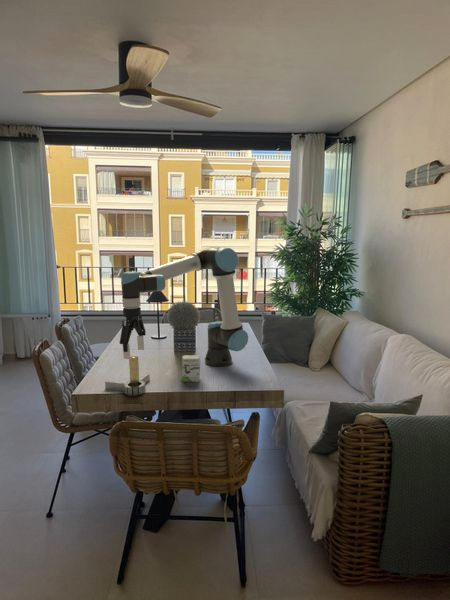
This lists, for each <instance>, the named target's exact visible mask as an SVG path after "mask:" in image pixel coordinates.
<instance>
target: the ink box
mask: <svg viewBox="0 0 450 600" xmlns="http://www.w3.org/2000/svg"><path fill="white" fill-rule="evenodd" d="M181 357H182V358H181V360H182V361H181V363H182V366H181V369H182V370H181V371H182V374H181V375H182V376H181V378H182V379H181V380H182V383H185V382H189V383H190V382H191V381H192V382H200V380H201V379H200V377H201V376H200V375H201V366H200V365H201V361H200V360H201V359H200V355H199V354H198V355H193V354H192V355H191V354H190V355H182V356H181Z"/></svg>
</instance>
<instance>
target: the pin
mask: <svg viewBox="0 0 450 600" xmlns="http://www.w3.org/2000/svg"><path fill="white" fill-rule="evenodd" d="M128 364H129V368H128V369H129V381H130V386H131V387H135V386H139V380H140V371H139V370H140V369H139V368H140V367H139V365H140V364H139V356H136V355H132V356H131V355H130V359H128Z"/></svg>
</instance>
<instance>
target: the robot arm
mask: <svg viewBox="0 0 450 600" xmlns="http://www.w3.org/2000/svg"><path fill="white" fill-rule="evenodd" d="M238 265H239V256H238V254H237V252H236V251H235V250H234V249H232V248H231V247H226V246H210V247H207V248H204V249H200V250H198V251H195V252H193V253H190V255H189V256H186V257H184V258H180V259H177V260H175V261H171V262H168V263H166V264H162V265H159V266H156V267H152V268H150V269H147V270H144V271H141V272H140V271H124V272H122V273H121V274H120V275H121V277H120V285H121V296H122V299H121V301H122V307H123V308H122V315H123V317H124V318H126V320H122V322H121V324H122V326H121V333H120V339H119V345H122V350H123V351H122V353H123V355H122V356H123V359H124V360H129V359H130V357H131V347H130V343H129V342H130V339H131V335H132V332H133V331H134V330H135V332H136V333H137V336H136V337H137V350H139V351H144V350H145V344H144V343H145V341H144V339H145V338H144V336H146V333H147V331H146V328H145V325H144V322H143V315H142V314H141V313H142V311H141V307H140V306H141V294H142V293H154V292H160V291H161V292H163V291H164V290H165V288H166V284H167V283H166V281H168V280H171V279H173V278H174V279H175V278H176V277H179V276H182V275H184V274H188V273H191V272H194V271H196V272H200V271H204V270H211V274H212V276H213V278H215V279H216V285H217V287H216V288H217V293H218V301H219V309H220V315H221V321H218V320H217V321H212V322H209V323H208V324H207V351H206V353H205V358H204V363H205V364H206V365H208V366H211V367H225V366H229V365H231V364H232V362H233V357H232V354H231V351H234V352H240V351H242V350H244V349H245V347H246V346H247V345H248V342H249V334H248V332H247V331H245V329H244V327H243V326H244V325H243V322H241V321H240V319H239V318H240V317H239V311H238V303H237V297H236V290H235V289H236V288H235V282H234V281H235V280H234V275H235V274H236V269H237V267H238Z"/></svg>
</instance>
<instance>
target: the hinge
mask: <svg viewBox="0 0 450 600" xmlns="http://www.w3.org/2000/svg"><path fill="white" fill-rule="evenodd" d="M149 381H151V380H150V373H146V374H145V375H144V376H142V377H141V378H139V386H135V387H131V386H130V380H128V381H127V382H121V381H120V382H119V381H110V380H106V381H104V387H105V390H112V391H114V390H115V391H121V392H123V393H124V395H127V396H138V395H139V396H140V395H143V394H145V393H146V390H147V389H146V384H147V383H148V382H149Z"/></svg>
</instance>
